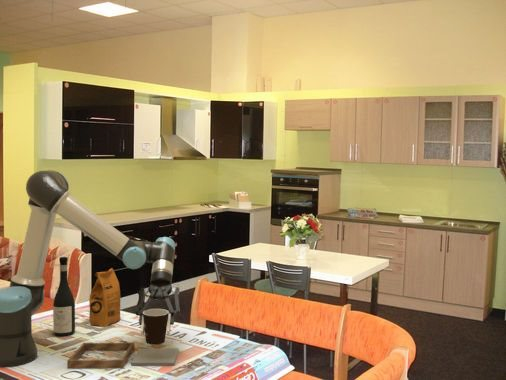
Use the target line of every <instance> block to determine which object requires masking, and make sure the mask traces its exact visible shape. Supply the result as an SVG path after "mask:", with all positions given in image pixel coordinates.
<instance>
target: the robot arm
mask: <svg viewBox="0 0 506 380" xmlns="http://www.w3.org/2000/svg"><path fill="white" fill-rule="evenodd" d="M69 187H70V185H69V181H68V179H67V178H66V176H65V175H64V174H62V173H61V172H59V171H55V170H52V169H51V170H50V169H48V170H39V171H35V172H34V173H32V174H31V175H30V176H29V177H28V179H27V181H26V183H25V192H26V194H27V196H28V198H29V199H28V204H27V205H28V206H29V208H30V209H31V211H30V214H29V219H28V223H27V228H26V233H25V238H24V242H23V246H22V251H21V255H20V260H19V263H18V268H17V272H16V274H15V275H13V276H12V277H11V278H10V284H9V287H5V288H2V289H0V367H15V366H20V365H24V364H28V363H30V362H33V361H35V360H36V359H37V358H38V347H37V344H36V342H35V339H34V337H33V333H32V332H33V331H32V329H33V328H32V322H33V321H32V317H33V315H35V313H37V312H38V311H39V310H40V309H41V307H42V306H43V303H44V299H45V292H44V291H45V285H46V281H45V280H44V278H43V276H44V275H43V274H44V271H45V266H46V262H47V261H46V260H47V257H48V252H49V248H50V244H51V240H52V236H53V235H52V234H53V231H54V226H55V221H56V217H57V215H58V216H60V217H61V218H62V219H63V220H65V221H66V222H68V223H69V224H70V225H72V226H73V227H75V228H76V229H78V230H79V231H80V232H82V233H83V234H84V235H86V236H87V237H89V238H90V239H92V240H93V241H94V242H96V243H97V244H98V245H100V246H101V247H102V248H104V249H106V250H107V251H108V252H110V253H111V254H112V255H114V256H115V257H116V258H118V259H119V260H121V262H123V264H124V266H126V268H128V269H131V270H137V269H140V268H141V267H143V265H144V264H145V263H152V268H151V276H150V282H149V283H150V285H148V287H146V288H144V287H140V295H139V296H138V297H139V298H138V301H137V303H136V305H135V308H134V313H135V316H137V317H138V316H139V318H138V325H139V326H141V327H140V334H141V336H145V330H144V320H143V312H144V311H145V310H149V309H151V308H150V307H152V305H153V303H154V302H155V301H156V300H164V301H165V303H166V306H167V308H168V311H169V314H168V322H167V330H166V336H167V335H168V336H170V334H171V326H173V325H175V318H176V316H180V315H181V309H180V300H179V299H180V298H179V297H180V296H179V295H180V287H173V286H172V283H173V273H174V262H175V254H176V244H175V241H174V240H173V239H172V238H171V237H167V236H163V237H158V238H157V239H156V240H155V242H154V241H153V242H149V241H142V240H141V241H140V240H135V239H130V238H129V237H127V236H126V235H125V234H124V233H122V232H121V231H120V230H118V229H117V228H115V227H114V226H113V225H111V224H109V223H108V222H107V221H106V220H105V219H103V218H102V217H101V216H99V215H98V214H97V213H95V212H94V211H92V210H91V209H89V208H88V207H86V205H84V204H83V203H81V202H80V201H79V200H78V199H76V198H74V197H73V196H72V195H71V192H70V190H69V189H70V188H69ZM148 293H149V296H148V299H146V301H145V298H146V295H147V294H148ZM171 293H172V294H173V295H174V303H175V310H174V308H173V305H172V303H171V300H170V297H169V296H170V294H171ZM144 301H145V303H144Z"/></svg>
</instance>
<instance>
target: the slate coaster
mask: <svg viewBox="0 0 506 380" xmlns="http://www.w3.org/2000/svg"><path fill="white" fill-rule="evenodd" d="M179 351H180V348H179V347H177V348H175V347H173V348H170V347H169V348H162V347H161V348H159V347H158V348H155V347H154V348H152V347H151V348H138V350H137V351H136V354H135V355H134V356H133V359H132V360H131V363H130V366H131V367H136V366H137V367H139V366H140V367H142V366H143V367H144V366H145V367H147V366H148V367H150V366H151V367H154V366H159V367H161V366H165V367H167V366H175V365H176V361H177V358H178V355H179Z"/></svg>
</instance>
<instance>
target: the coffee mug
mask: <svg viewBox="0 0 506 380" xmlns="http://www.w3.org/2000/svg"><path fill="white" fill-rule="evenodd" d="M168 314H170V311H169V310H167V309H164V308H149V309H148V310H145V311H144V312H143V320H144V330H145V331H144V337H145V338H144V339H145V343H146V344H147V345H152V346H156V345H162V344H164V343H165V342H166V337H167V323H168Z"/></svg>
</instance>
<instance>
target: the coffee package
mask: <svg viewBox="0 0 506 380" xmlns="http://www.w3.org/2000/svg"><path fill="white" fill-rule="evenodd" d="M94 275H95V277H96V278H97V279H96V281H95V283H94V286H93V288H92V289H91V291H90V294H89V301H88V302H89V315H88V316H89V319H88V322H89V325H91V326H95V325H96V326H95V327H100V326H101V327H102V328H103V327H104V328H105V327H107V326H109V325H111V324H113V325H114V324H115V323H116V324H117V322H119V321H121V289H120V282H119V280H118V278H117V275H116V273H115V270H114V269H113V268H112V267H111V268H110V269H109V270H107V271H100V272H97V271H96V273H94Z"/></svg>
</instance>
